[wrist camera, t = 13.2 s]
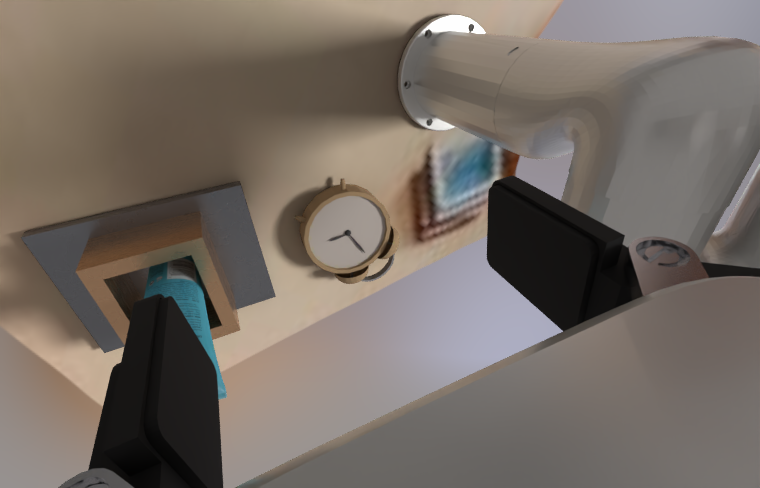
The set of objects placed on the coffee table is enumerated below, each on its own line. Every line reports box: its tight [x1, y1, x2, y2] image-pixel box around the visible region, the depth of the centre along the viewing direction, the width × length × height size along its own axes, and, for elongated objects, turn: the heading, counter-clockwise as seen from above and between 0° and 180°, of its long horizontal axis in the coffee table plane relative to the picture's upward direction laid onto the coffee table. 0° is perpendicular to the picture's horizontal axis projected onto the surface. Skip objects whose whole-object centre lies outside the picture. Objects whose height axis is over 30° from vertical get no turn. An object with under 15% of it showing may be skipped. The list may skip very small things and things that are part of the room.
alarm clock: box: [295, 179, 399, 284], centre depth 50 cm, size 11×5×15 cm
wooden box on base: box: [21, 181, 276, 353], centre depth 41 cm, size 20×16×7 cm
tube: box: [144, 256, 227, 400], centre depth 35 cm, size 7×5×19 cm, turn 89°
